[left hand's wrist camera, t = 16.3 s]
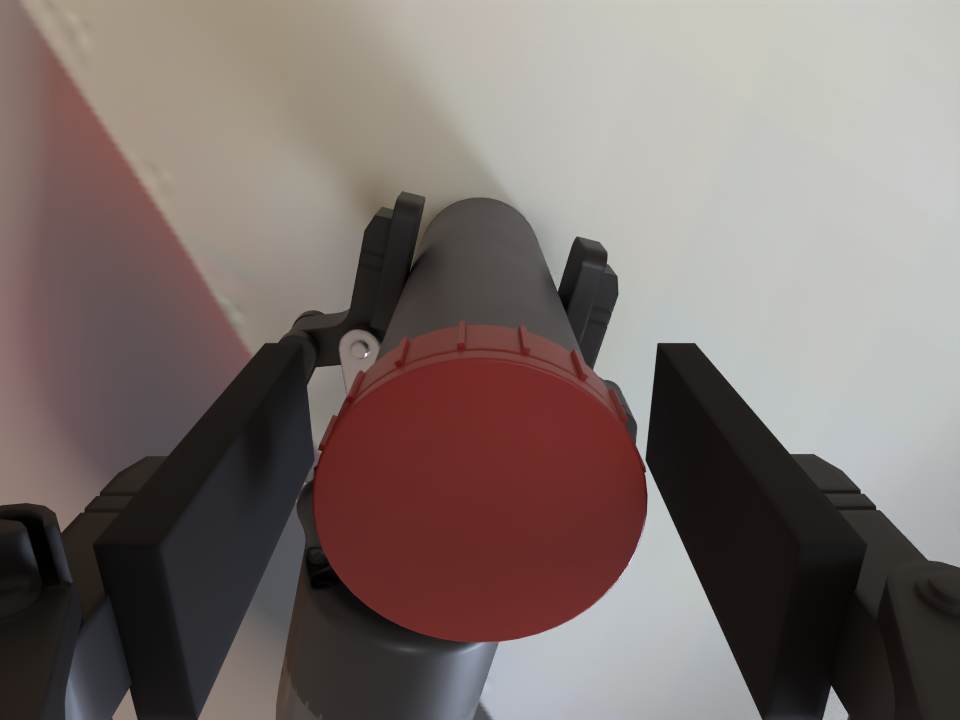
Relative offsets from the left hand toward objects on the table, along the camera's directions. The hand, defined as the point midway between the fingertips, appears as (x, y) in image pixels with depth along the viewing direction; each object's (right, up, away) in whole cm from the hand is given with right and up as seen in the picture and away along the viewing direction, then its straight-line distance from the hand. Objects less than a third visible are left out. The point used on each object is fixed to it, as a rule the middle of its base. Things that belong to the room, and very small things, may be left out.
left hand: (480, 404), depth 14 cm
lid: (0, -1, -3) cm, 4 cm away
